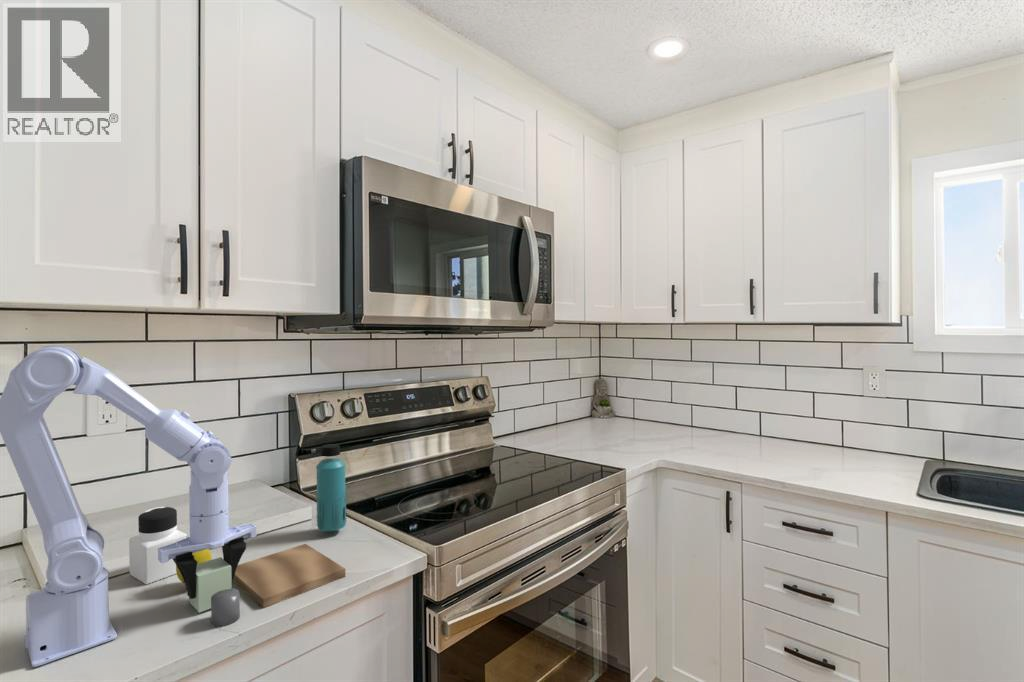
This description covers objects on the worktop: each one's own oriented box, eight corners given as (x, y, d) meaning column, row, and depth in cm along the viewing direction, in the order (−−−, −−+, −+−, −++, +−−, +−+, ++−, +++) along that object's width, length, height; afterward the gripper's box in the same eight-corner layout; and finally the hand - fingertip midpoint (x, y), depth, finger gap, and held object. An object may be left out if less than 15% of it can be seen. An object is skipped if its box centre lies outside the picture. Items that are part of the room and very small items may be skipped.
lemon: (195, 595, 92) (194, 550, 91) (168, 591, 93) (167, 547, 92) (219, 580, 97) (218, 537, 97) (193, 577, 98) (192, 534, 98)
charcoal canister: (216, 629, 81) (216, 604, 81) (207, 620, 84) (207, 595, 84) (243, 619, 84) (243, 594, 84) (234, 610, 87) (233, 586, 87)
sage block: (198, 612, 86) (198, 576, 85) (189, 601, 89) (188, 566, 89) (231, 600, 89) (231, 566, 89) (221, 590, 93) (220, 557, 92)
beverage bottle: (347, 535, 117) (347, 447, 117) (316, 540, 115) (315, 449, 114) (345, 525, 123) (345, 440, 123) (315, 529, 121) (315, 443, 120)
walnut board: (263, 608, 88) (263, 599, 88) (228, 576, 99) (228, 568, 98) (345, 576, 99) (345, 568, 99) (305, 550, 110) (305, 543, 109)
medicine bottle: (188, 570, 101) (187, 508, 100) (146, 585, 95) (144, 520, 94) (170, 560, 105) (169, 501, 104) (129, 574, 99) (127, 511, 98)
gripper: (166, 529, 80) (167, 616, 81) (263, 505, 91) (263, 582, 92) (153, 517, 85) (154, 599, 86) (247, 496, 96) (248, 569, 96)
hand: (210, 590), depth 89 cm, fingers closed on sage block, 5 cm apart
